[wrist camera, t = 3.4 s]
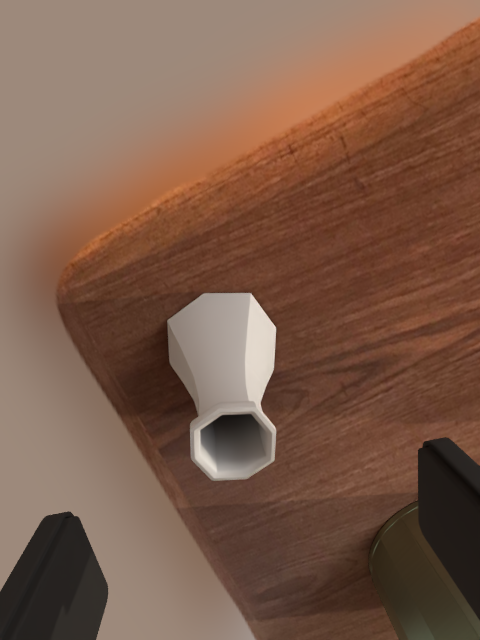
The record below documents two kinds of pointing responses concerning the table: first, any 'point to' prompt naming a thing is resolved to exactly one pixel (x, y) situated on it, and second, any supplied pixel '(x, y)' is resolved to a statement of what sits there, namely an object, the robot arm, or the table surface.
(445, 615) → the pot
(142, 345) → the table surface
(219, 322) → the flask
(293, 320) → the table surface
